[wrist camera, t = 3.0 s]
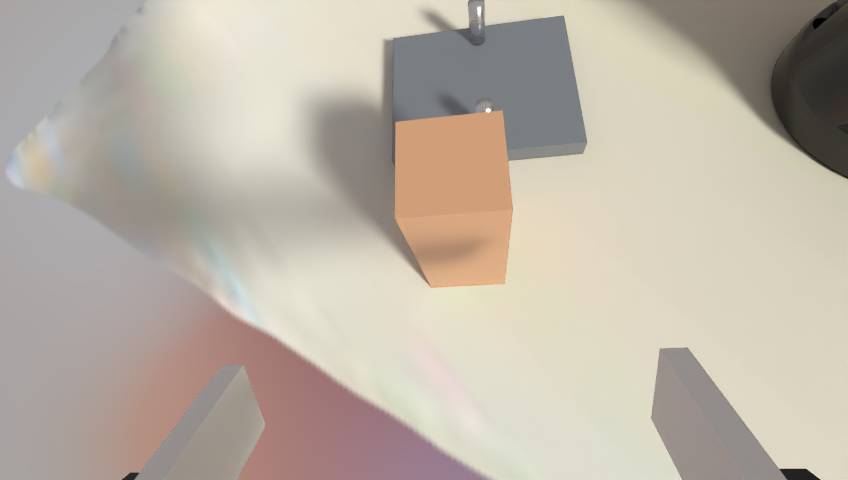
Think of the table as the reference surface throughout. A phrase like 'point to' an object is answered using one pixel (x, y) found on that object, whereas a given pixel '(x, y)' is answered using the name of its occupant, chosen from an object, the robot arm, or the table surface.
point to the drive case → (455, 197)
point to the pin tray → (495, 81)
